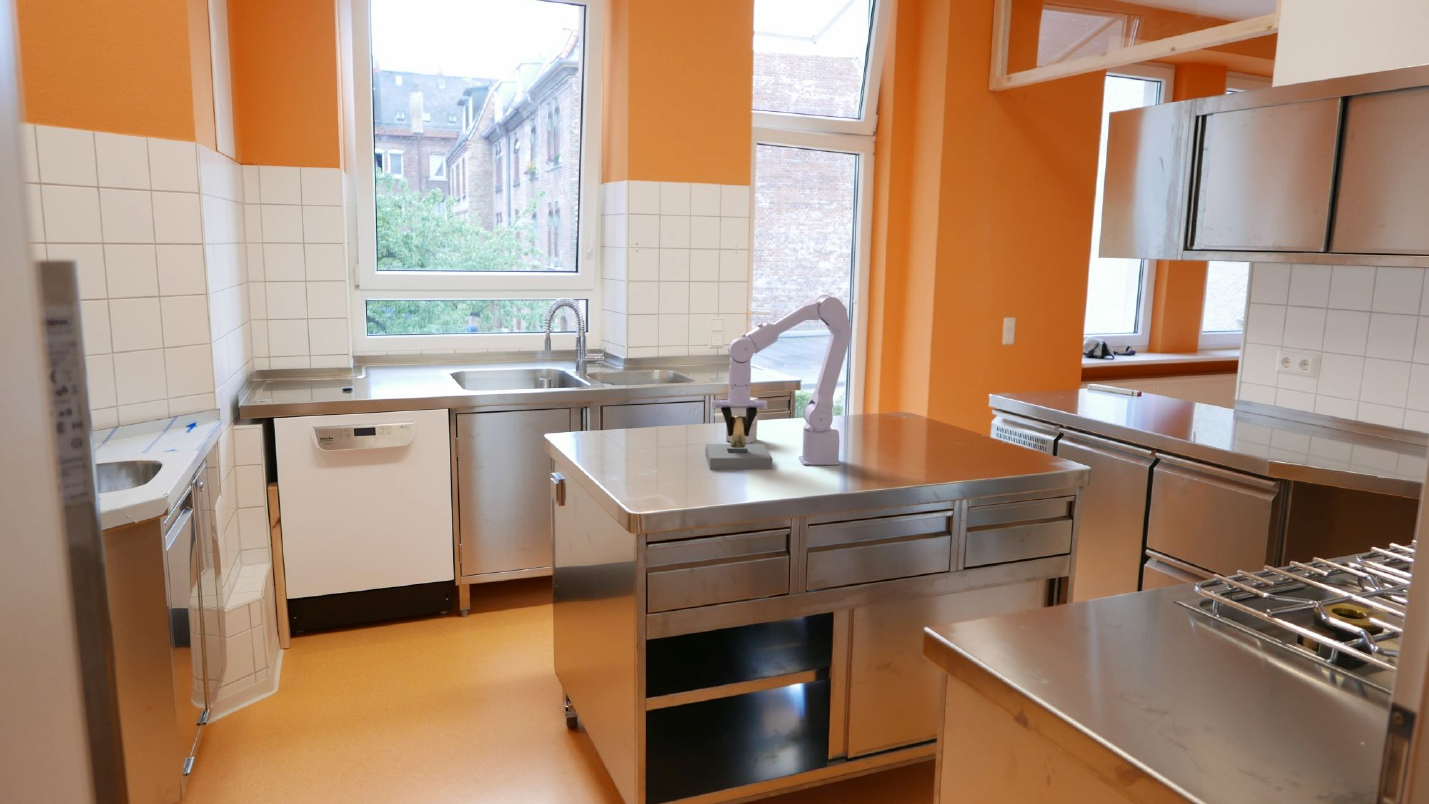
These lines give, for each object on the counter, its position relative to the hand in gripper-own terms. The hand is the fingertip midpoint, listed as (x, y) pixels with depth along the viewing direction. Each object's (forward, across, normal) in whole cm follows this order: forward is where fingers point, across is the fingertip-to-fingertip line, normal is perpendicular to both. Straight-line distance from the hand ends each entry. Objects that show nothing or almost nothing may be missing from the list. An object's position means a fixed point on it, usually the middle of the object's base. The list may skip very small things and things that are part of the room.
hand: (738, 435), depth 239 cm
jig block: (+7, 0, 0) cm, 7 cm away
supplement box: (+7, -4, -26) cm, 27 cm away
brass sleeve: (+3, 0, 0) cm, 3 cm away
